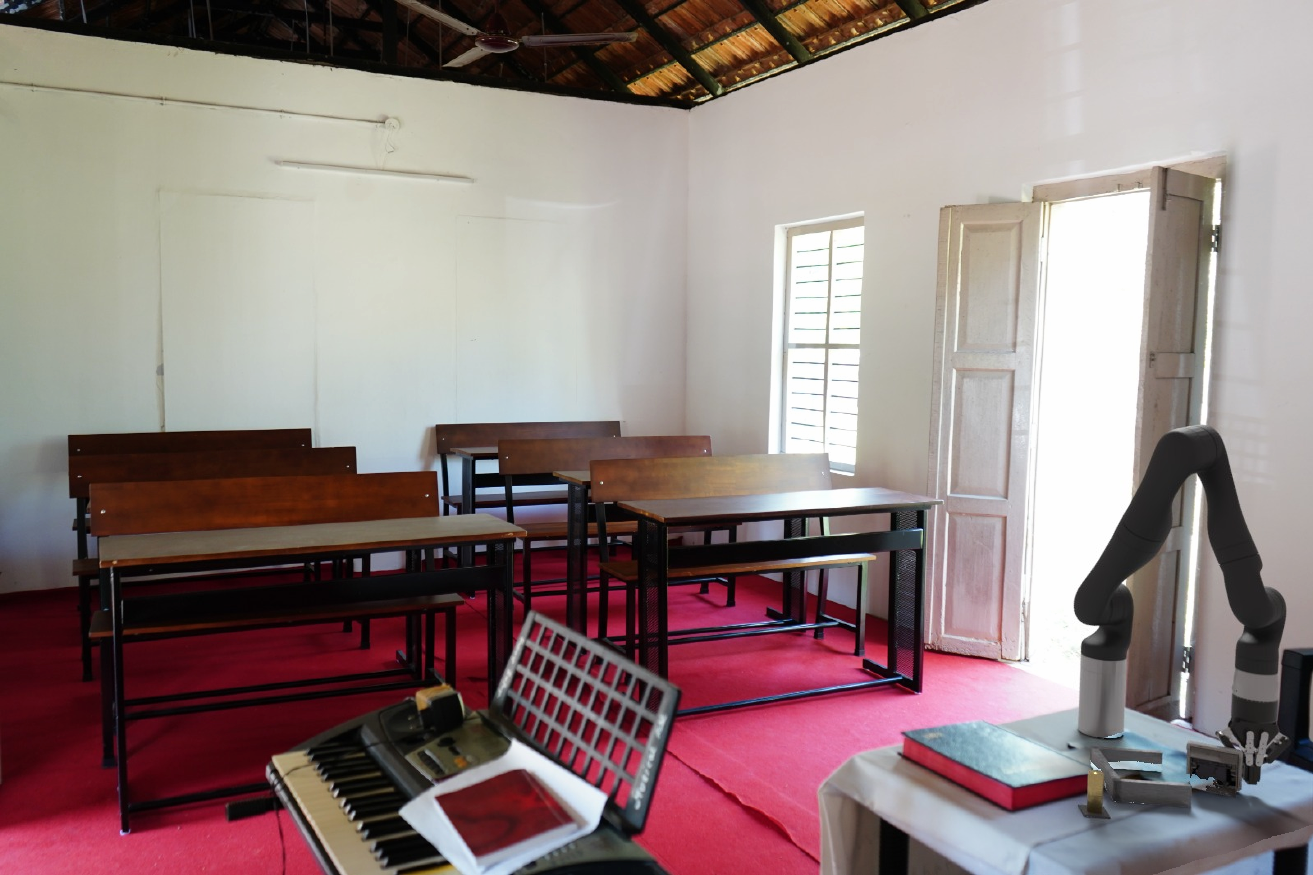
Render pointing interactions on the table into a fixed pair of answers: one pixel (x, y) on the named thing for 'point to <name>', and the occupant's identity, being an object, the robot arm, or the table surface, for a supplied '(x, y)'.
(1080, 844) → the table surface
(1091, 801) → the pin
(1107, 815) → the pad
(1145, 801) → the bracket
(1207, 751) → the electrical switch
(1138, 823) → the table surface
